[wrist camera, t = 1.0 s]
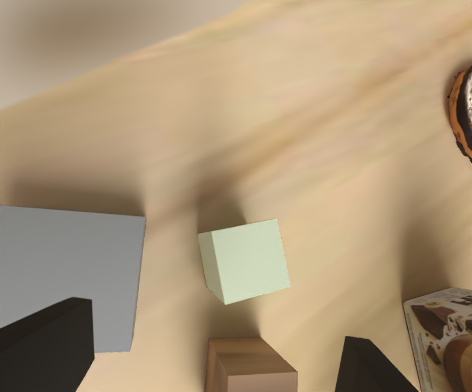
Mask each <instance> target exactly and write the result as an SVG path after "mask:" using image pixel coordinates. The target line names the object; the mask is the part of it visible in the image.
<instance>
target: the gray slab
mask: <svg viewBox="0 0 472 392" xmlns="http://www.w3.org/2000/svg"><path fill="white" fill-rule="evenodd" d="M145 228H146V218H145V217H141V216H129V215H116V214H103V213H91V212H78V211H66V210H53V209H40V208H28V207H15V206H3V205H0V328H2V327H4V326H6V325H9V324H11V323H13V322H15V321H17V320H20V319H22V318H24V317H26V316H28V315H31V314H33V313H35V312H37V311H39V310H42V309H44V308H46V307H48V306H51V305H53V304H55V303H58V302H60V301H63V300H65V299H68V298H70V297H78V298H85V299H92V309H93V333H94V353H101V352H130V349H131V345H132V340H133V335H134V326H135V317H136V308H137V299H138V290H139V281H140V272H141V263H142V254H143V246H144V237H145Z"/></svg>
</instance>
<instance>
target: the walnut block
mask: <svg viewBox="0 0 472 392" xmlns="http://www.w3.org/2000/svg"><path fill="white" fill-rule="evenodd" d="M297 386H298V372H297V371H296V370H295V369H294V368H293V367H292V366H291V365H290V364H289V363H288V362H287V361H286V360H284V359H283V358H282V357H281V356H280V355H279V354H278V353H277V352H276V351H275V350H274V349H273V348H272V347H271V346H270V345H268V344H267V343H266V342H265V341H264V340H263V339H262V338H261V337H257V338H214V339H209V342H208V356H207V370H206V384H205V392H297Z"/></svg>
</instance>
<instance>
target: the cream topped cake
mask: <svg viewBox="0 0 472 392" xmlns="http://www.w3.org/2000/svg"><path fill="white" fill-rule="evenodd" d="M454 77H455V83H454V86H453V88H452V91H451V94H449V95H450V96H448V97H447V98H449V108H450V111H449V115H450V121H451V125H452V128H453V132H454V135H455V137H456V140H457V141H456V143H457V145H458V147H459V148H460V150H461V152H462V154H463V155H464V156H468V157H469V159H470V161H471V163H472V66H471V67H470V68H468V69H466V70H465V71H462V72H459V73H458V75H457V76H454Z"/></svg>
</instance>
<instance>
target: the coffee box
mask: <svg viewBox="0 0 472 392" xmlns="http://www.w3.org/2000/svg"><path fill="white" fill-rule="evenodd" d="M403 307H404V311H405V316H406V320H407V324H408V329H409V334H410V338H411V343H412V348H413V352H414V357H415V361H416V366H417V370H418V375H419V380H420V384H421V389H422V392H472V290H466V289H460V288H454V287H452V288H448V289H445V290H441V291H438V292H434V293H431V294H428V295H424V296H421V297H417V298H414V299H410V300H407V301H405V302H404V304H403Z"/></svg>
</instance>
